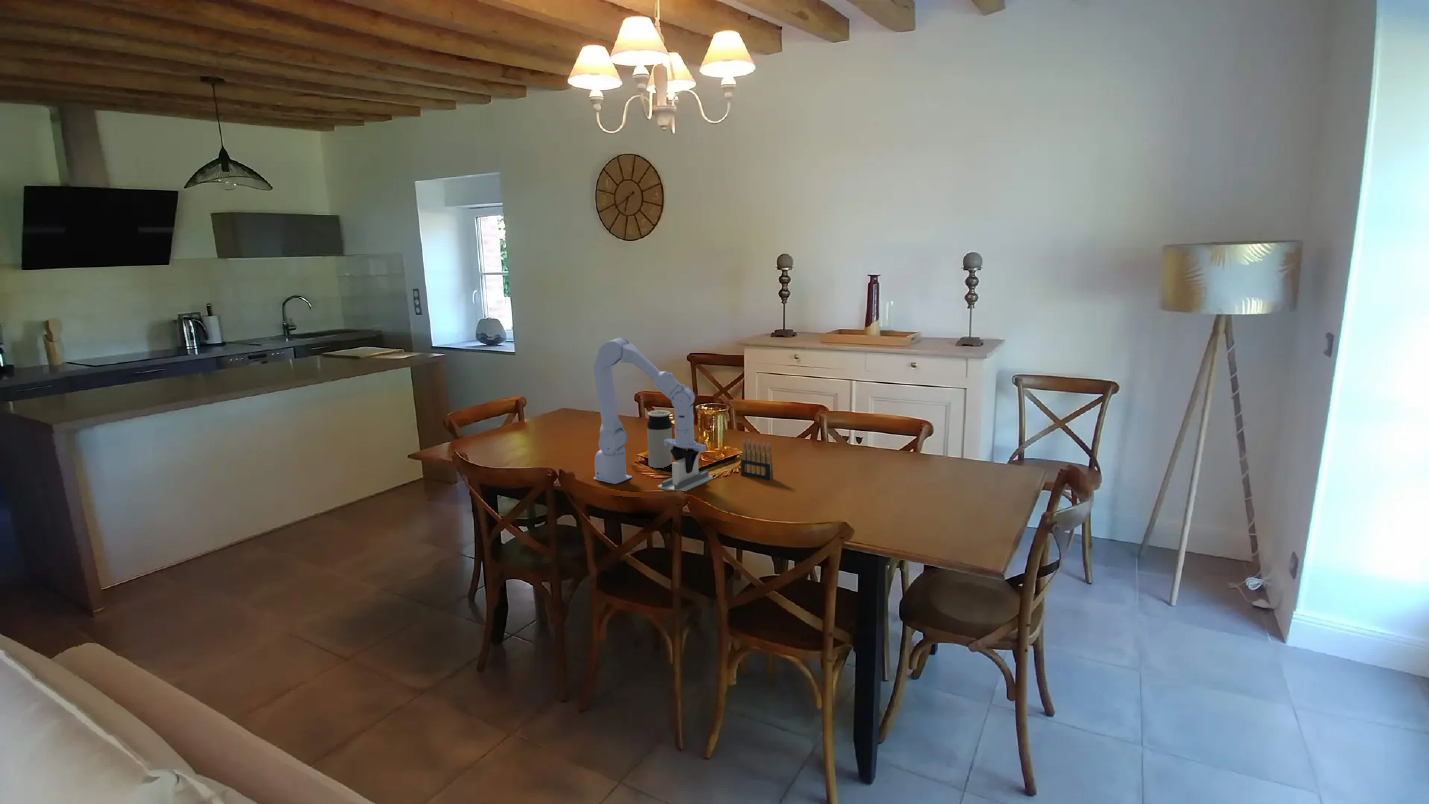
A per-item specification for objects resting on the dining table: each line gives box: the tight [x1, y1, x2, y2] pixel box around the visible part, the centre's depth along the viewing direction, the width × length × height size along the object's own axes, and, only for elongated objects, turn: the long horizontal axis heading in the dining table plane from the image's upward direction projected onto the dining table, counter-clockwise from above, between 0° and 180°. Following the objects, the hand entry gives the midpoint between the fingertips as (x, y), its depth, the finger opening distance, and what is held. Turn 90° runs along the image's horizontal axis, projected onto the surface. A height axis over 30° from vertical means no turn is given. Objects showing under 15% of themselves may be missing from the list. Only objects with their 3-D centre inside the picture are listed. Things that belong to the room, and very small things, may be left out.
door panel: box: [671, 455, 700, 485], centre depth 222 cm, size 2×10×7 cm, turn 145°
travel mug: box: [646, 409, 674, 469], centre depth 239 cm, size 8×8×18 cm
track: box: [657, 470, 714, 492], centre depth 223 cm, size 9×16×2 cm, turn 145°
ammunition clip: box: [740, 437, 774, 481], centre depth 227 cm, size 11×2×12 cm, turn 56°
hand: (685, 471), depth 222 cm, fingers closed on door panel, 2 cm apart
